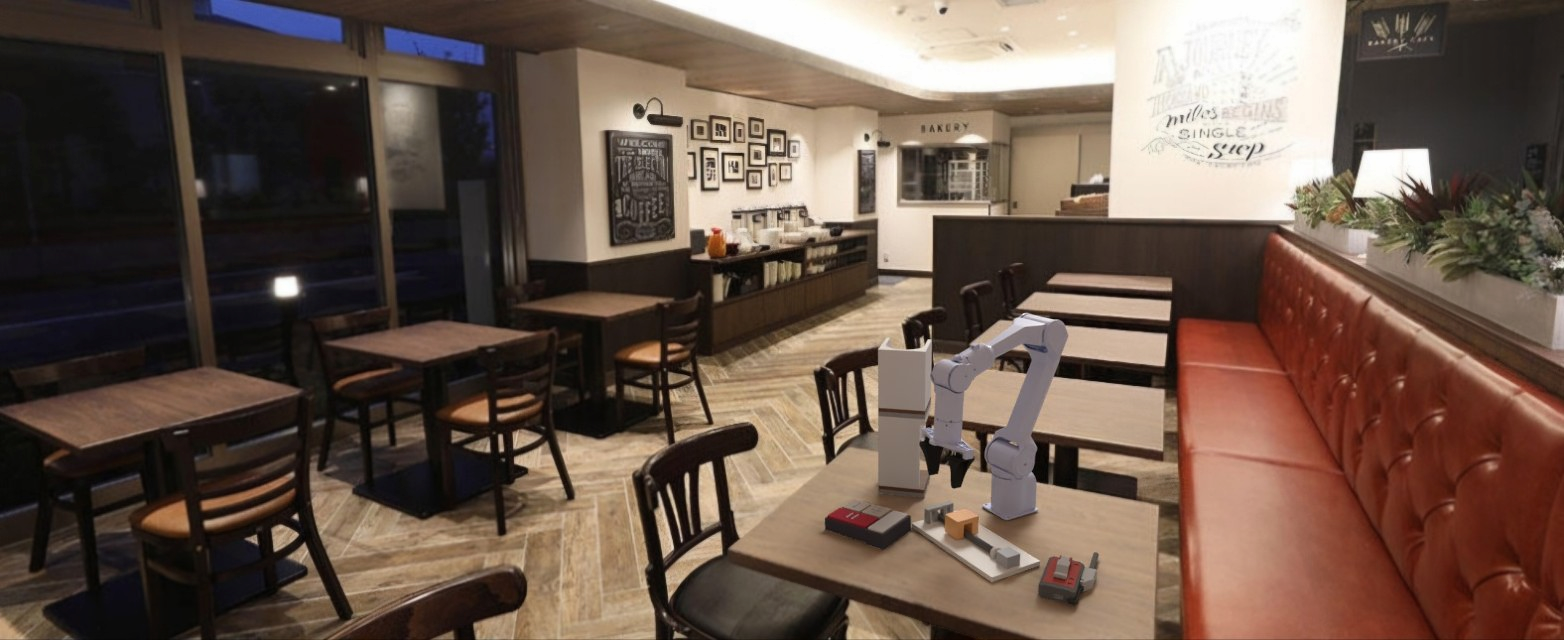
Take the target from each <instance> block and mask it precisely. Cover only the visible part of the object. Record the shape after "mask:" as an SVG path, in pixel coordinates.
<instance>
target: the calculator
mask: <svg viewBox="0 0 1564 640" xmlns="http://www.w3.org/2000/svg"><path fill="white" fill-rule="evenodd" d="M911 517H912V516H911V515H910V514H908V513H906V512H901V511H897V510H892V509H891V508H890V507H885V506H881V505H877V504H871V503H870V502H866V501H864V500H863V501H862V500H858V499H855V498H854V499H852V500H850V501H848V502H846V503H845V504H844V505H842V506H841V507H839V508H837V509H835V510H833V511H832V512H830V513H828V514H827V516H826V517H825V518H824V526H825V530H826V531H829V532H832V533H835V534H837V535H838V536H839V535H840V536H842V537H846V538H849V539H852V540H854V541H859V542H862V543H865V544H866V545H867V546H870V547H874V548H875V549H876V548H877V549H879V550H881V551H882V550H884V551H885V550H886V549H888V548H889V547H891V546H892V545H893V544H894V543H896V542H897V541H899V540H900V539H902V538H903V537H905V536H906V535H907V534H908V533H910V532H911V531H912V519H911Z"/></svg>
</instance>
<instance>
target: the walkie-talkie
mask: <svg viewBox="0 0 1564 640" xmlns="http://www.w3.org/2000/svg"><path fill="white" fill-rule="evenodd" d="M1099 556H1100V555H1099V552H1097V551H1096V552H1093V553H1092V557H1091V561H1090V563H1089V567H1085V564H1084V563H1083V562H1081V561H1077V560H1074V559H1073V557H1072V556H1066V555H1061V554H1060V555H1059V556H1051V557H1048V560H1047V562H1046V565H1045V566H1044V570H1043V573H1042V575H1041V577H1040V579H1039V582H1038V587H1037V588H1038V589H1037V590H1038V591H1037V596H1039V597H1040V598H1042V599H1045V600H1046V599H1047V600H1049V601H1053V600H1054V602H1058V603H1063V604H1066V603H1067V604H1066V605H1070V606H1076V605H1077V604H1078V601H1079V598H1080V594H1081V592H1087V591H1090V590H1092V589H1093V588H1094V584H1095V582H1096V581H1097V576H1098V575H1097V574H1098V570H1097V569H1096V567H1097V564H1098V559H1099Z"/></svg>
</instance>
